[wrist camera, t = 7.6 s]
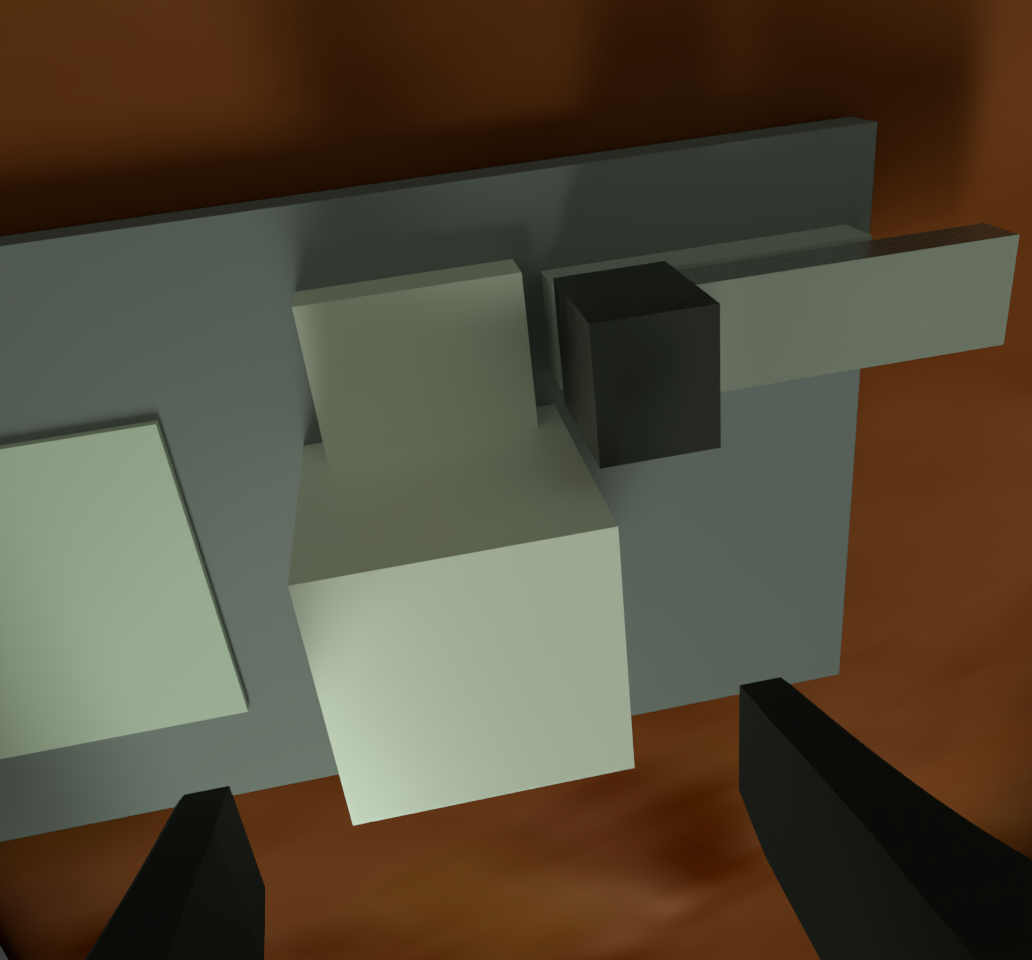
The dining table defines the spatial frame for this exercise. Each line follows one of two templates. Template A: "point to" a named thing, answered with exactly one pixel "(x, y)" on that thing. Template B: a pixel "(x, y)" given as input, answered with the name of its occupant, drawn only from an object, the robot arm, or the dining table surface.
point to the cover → (451, 552)
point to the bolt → (765, 329)
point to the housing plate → (293, 423)
